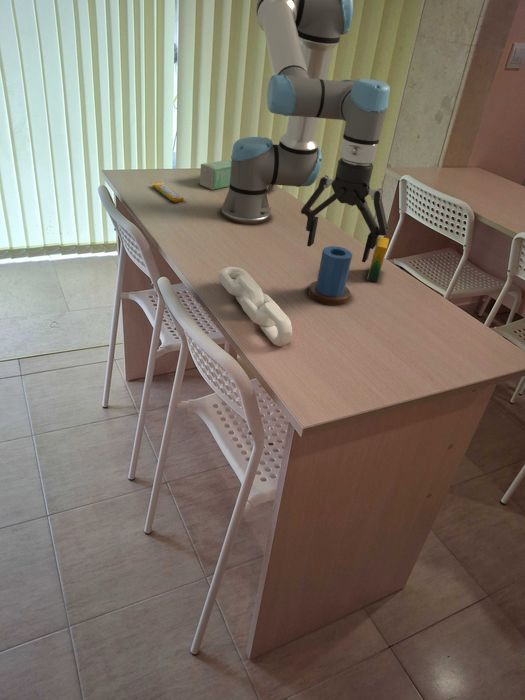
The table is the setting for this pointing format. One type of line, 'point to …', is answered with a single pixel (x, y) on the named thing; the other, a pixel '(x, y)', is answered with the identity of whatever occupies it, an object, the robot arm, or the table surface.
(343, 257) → the towel roll
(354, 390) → the table surface
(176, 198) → the candy bar
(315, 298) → the stand base
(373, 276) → the crayon box
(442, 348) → the table surface
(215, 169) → the box
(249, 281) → the chain
